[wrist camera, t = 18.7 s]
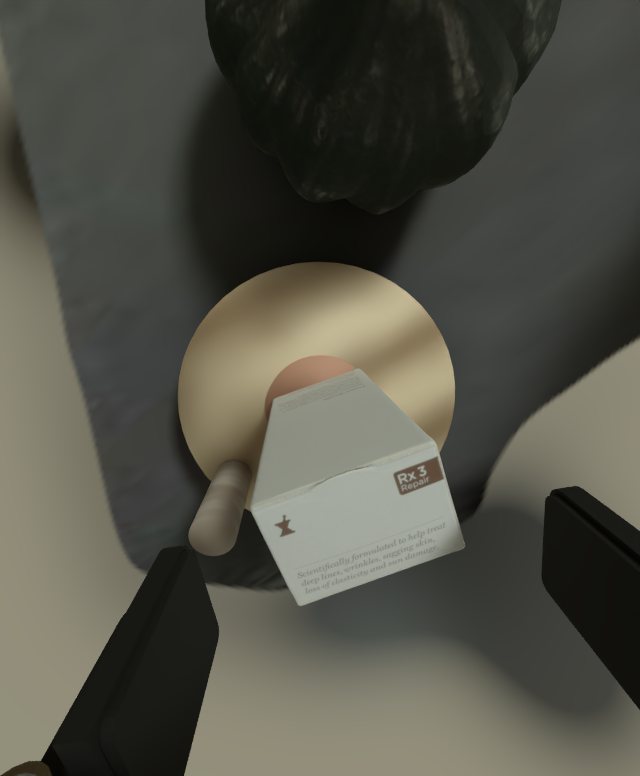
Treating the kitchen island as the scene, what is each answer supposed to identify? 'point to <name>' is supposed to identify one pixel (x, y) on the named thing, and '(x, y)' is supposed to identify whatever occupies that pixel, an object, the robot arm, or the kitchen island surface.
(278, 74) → the squash
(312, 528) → the skincare box
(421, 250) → the kitchen island surface
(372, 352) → the turntable
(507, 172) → the kitchen island surface
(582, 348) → the kitchen island surface
